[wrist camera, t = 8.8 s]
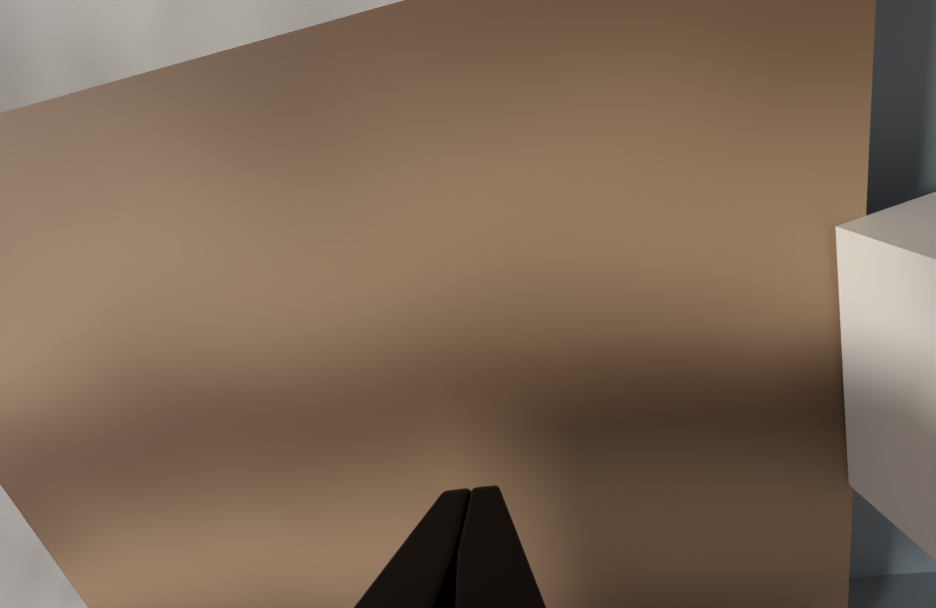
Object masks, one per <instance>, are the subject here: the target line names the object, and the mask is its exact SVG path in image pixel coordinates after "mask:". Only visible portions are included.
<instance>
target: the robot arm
mask: <svg viewBox="0 0 936 608" xmlns="http://www.w3.org/2000/svg"><path fill="white" fill-rule="evenodd" d="M354 608H546V606H545V603H544V600H543V598H542V595H541V593H540V590H539V588H538V585H537V583H536V580H535V577H534V575H533V572H532V570H531V567H530V565H529V562H528V559H527V557H526V554H525V552H524V549H523V547H522V544H521V541H520V539H519V536H518V534H517V531H516V529H515V526H514V523H513V521H512V518H511V516H510V513H509V511H508V508H507V505H506V503H505V500H504V498H503V495H502V493H501V490H500V488H499V487H498V486H496V485H492V486H482V487H475V488H473V489H472V490H469V489H468V488H463V489H454V490H447V491H444V492H443V493H442V494H441V495H440V496H439V497H438V498H437V500H436V501H435V502H434V504H433V505H432V506H431V508H430V509H429V510H428V511H427V513H426V514H425V515H424V517H423V518H422V519H421V521H420V522H419V523H418V524H417V526H416V527H415V528H414V530H413V531H412V532H411V534H410V535H409V536H408V537H407V539H406V540H405V541H404V543H403V544H402V545H401V547H400V548H399V549H398V550H397V552H396V553H395V554H394V556H393V557H392V558H391V560H390V561H389V562H388V563H387V565H386V566H385V567H384V569H383V570H382V571H381V573H380V574H379V575H378V576H377V578H376V579H375V580H374V582H373V583H372V584H371V586H370V587H369V588H368V589H367V591H366V592H365V593H364V595H363V596H362V597H361V599H360V600H359V601H358V602H357V604H356V605H355V606H354Z"/></svg>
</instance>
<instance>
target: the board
mask: <svg viewBox="0 0 936 608" xmlns="http://www.w3.org/2000/svg"><path fill="white" fill-rule="evenodd" d="M875 10H876V0H404V1H401V2H397V3H394V4H390V5H386V6H383V7H379V8H376V9H372V10H369V11H365V12H361V13H358V14H354V15H351V16H347V17H343V18H340V19H336V20H333V21H329V22H326V23H322V24H318V25H315V26H311V27H308V28H304V29H300V30H297V31H293V32H290V33H286V34H283V35H279V36H275V37H272V38H268V39H265V40H261V41H258V42H254V43H250V44H247V45H243V46H240V47H236V48H232V49H229V50H225V51H222V52H218V53H215V54H211V55H207V56H204V57H200V58H197V59H193V60H189V61H186V62H182V63H179V64H175V65H172V66H168V67H164V68H161V69H157V70H154V71H150V72H146V73H143V74H139V75H136V76H132V77H129V78H125V79H121V80H118V81H114V82H111V83H107V84H103V85H100V86H96V87H93V88H89V89H86V90H82V91H78V92H75V93H71V94H68V95H64V96H61V97H57V98H53V99H50V100H46V101H43V102H39V103H35V104H32V105H28V106H25V107H21V108H18V109H14V110H10V111H7V112H3V113H0V484H1V486H2V487H3V489H4V490H5V491H6V493H7V494H8V496H9V497H10V498H11V500H12V501H13V503H14V504H15V505H16V507H17V508H18V510H19V511H20V512H21V514H22V515H23V517H24V518H25V519H26V521H27V522H28V524H29V525H30V527H31V528H32V529H33V531H34V532H35V534H36V535H37V536H38V538H39V539H40V541H41V542H42V543H43V545H44V546H45V548H46V549H47V550H48V552H49V553H50V555H51V556H52V557H53V559H54V560H55V562H56V563H57V565H58V566H59V567H60V569H61V570H62V572H63V573H64V574H65V576H66V577H67V579H68V580H69V581H70V583H71V584H72V586H73V587H74V588H75V590H76V591H77V593H78V594H79V595H80V597H81V598H82V600H83V601H84V603H85V604H86V605H87V607H88V608H354V606H355V605H356V604H357V602H358V601H359V600H360V599H361V597H362V596H363V595H364V593H365V592H366V591H367V589H368V588H369V587H370V586H371V584H372V583H373V582H374V580H375V579H376V578H377V576H378V575H379V574H380V573H381V571H382V570H383V569H384V567H385V566H386V565H387V563H388V562H389V561H390V560H391V558H392V557H393V556H394V554H395V553H396V552H397V550H398V549H399V548H400V547H401V545H402V544H403V543H404V541H405V540H406V539H407V537H408V536H409V535H410V534H411V532H412V531H413V530H414V528H415V527H416V526H417V524H418V523H419V522H420V521H421V519H422V518H423V517H424V515H425V514H426V513H427V511H428V510H429V509H430V508H431V506H432V505H433V504H434V502H435V501H436V500H437V498H438V497H439V496H440V495H441V494H442V493H443V492H444V491H447V490H454V489H463V488H468V489H469V490H472V489H473V488H475V487H482V486H492V485H496V486H498V487H499V488H500V490H501V493H502V495H503V498H504V500H505V503H506V505H507V508H508V511H509V513H510V516H511V518H512V521H513V523H514V526H515V529H516V531H517V534H518V536H519V539H520V541H521V544H522V547H523V549H524V552H525V554H526V557H527V559H528V562H529V565H530V567H531V570H532V572H533V575H534V577H535V580H536V583H537V585H538V588H539V590H540V593H541V595H542V598H543V600H544V603H545V606H546V608H848V593H849V572H850V550H851V529H852V507H853V488H852V487H851V486H850V485H849V481H848V462H847V442H846V423H845V403H844V384H843V364H842V345H841V325H840V306H839V287H838V267H837V248H836V228H835V226H838V225H841V224H844V223H847V222H849V221H852V220H855V219H858V218H861V217H864V216H866V204H867V183H868V161H869V140H870V118H871V96H872V75H873V53H874V32H875Z"/></svg>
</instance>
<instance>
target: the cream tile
mask: <svg viewBox="0 0 936 608" xmlns="http://www.w3.org/2000/svg"><path fill="white" fill-rule="evenodd" d="M835 228H836V248H837V267H838V287H839V306H840V325H841V345H842V364H843V384H844V403H845V423H846V442H847V462H848V481H849V485H850V486H851V487H852V488H853V489H854V490H856V491H857V492H858V493H859V494H860V495H861V496H862V497H864V498H865V499H866V500H867V501H868V502H869V503H870V504H871V505H873V506H874V507H875V508H876V509H877V510H878V511H879V512H881V513H882V514H883V515H884V516H885V517H886V518H887V519H888V520H890V521H891V522H892V523H893V524H894V525H895V526H896V527H897V528H899V529H900V530H901V531H902V532H903V533H904V534H905V535H907V536H908V537H909V538H910V539H911V540H912V541H913V542H914V543H916V544H917V545H918V546H919V547H920V548H921V549H922V550H924V551H925V552H926V553H927V554H928V555H929V556H930V557H931V558H933V559H934V560H935V561H936V192H933V193H930V194H928V195H925V196H922V197H919V198H916V199H913V200H910V201H907V202H904V203H901V204H899V205H896V206H893V207H890V208H887V209H884V210H881V211H878V212H875V213H873V214H870V215H867V216H864V217H861V218H858V219H855V220H852V221H849V222H847V223H844V224H841V225H838V226H835Z"/></svg>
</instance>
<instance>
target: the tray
mask: <svg viewBox="0 0 936 608" xmlns="http://www.w3.org/2000/svg"><path fill="white" fill-rule="evenodd" d="M933 192H936V0H876V10H875V32H874V53H873V75H872V96H871V118H870V140H869V161H868V183H867V204H866V216H867V215H870V214H873V213H875V212H878V211H881V210H884V209H887V208H890V207H893V206H896V205H899V204H901V203H904V202H907V201H910V200H913V199H916V198H919V197H922V196H925V195H928V194H930V193H933ZM848 608H936V561H935V560H934V559H933V558H931V557H930V556H929V555H928V554H927V553H926V552H925V551H924V550H922V549H921V548H920V547H919V546H918V545H917V544H916V543H914V542H913V541H912V540H911V539H910V538H909V537H908V536H907V535H905V534H904V533H903V532H902V531H901V530H900V529H899V528H897V527H896V526H895V525H894V524H893V523H892V522H891V521H890V520H888V519H887V518H886V517H885V516H884V515H883V514H882V513H881V512H879V511H878V510H877V509H876V508H875V507H874V506H873V505H871V504H870V503H869V502H868V501H867V500H866V499H865V498H864V497H862V496H861V495H860V494H859V493H858V492H857V491H856V490H854V489H853V507H852V529H851V550H850V572H849V593H848Z"/></svg>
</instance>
